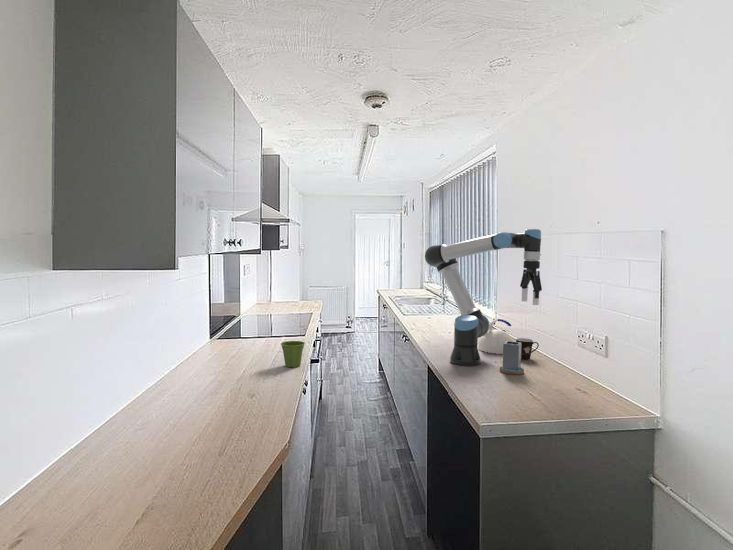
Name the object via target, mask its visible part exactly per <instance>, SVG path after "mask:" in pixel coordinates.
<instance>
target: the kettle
mask: <svg viewBox="0 0 733 550" xmlns="http://www.w3.org/2000/svg"><path fill="white" fill-rule="evenodd" d="M496 322H501V323H504V324H506V325H507V327H512V324H511V323H510V322H509V321H507V320H504V319H500V318H495V319H492V320H491V321H490V322H489V324H490V327H489V330H488V332H487V333H486V334H485V335H484V336H482V337H480V339H479V341H478V342H479V343H478V348H479V349H478V351H479V350H480V351H481V352H483V351H484V353H487V352H488V354H494V353H496V354H495V355H503V344H504V343H505V342H506V341H512V342H514V339H513V338H512V337H511V336H510V334H509V333H507V332H506V330H505V329H502V330H501V329H493V326H494V324H495V323H496Z"/></svg>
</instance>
